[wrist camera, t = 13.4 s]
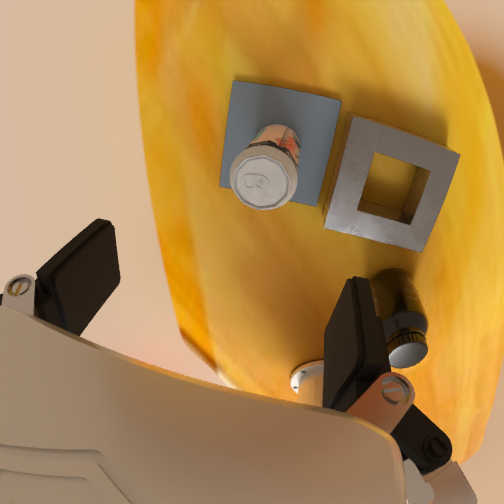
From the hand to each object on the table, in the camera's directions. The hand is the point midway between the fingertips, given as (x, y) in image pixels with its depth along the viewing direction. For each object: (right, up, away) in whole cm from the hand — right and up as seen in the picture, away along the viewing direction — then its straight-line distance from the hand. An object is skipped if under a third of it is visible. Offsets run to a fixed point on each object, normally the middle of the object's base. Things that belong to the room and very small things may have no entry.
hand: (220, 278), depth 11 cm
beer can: (+4, +12, +18) cm, 22 cm away
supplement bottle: (+20, -4, +26) cm, 33 cm away
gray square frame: (+16, +9, +19) cm, 26 cm away
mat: (+4, +13, +19) cm, 23 cm away
